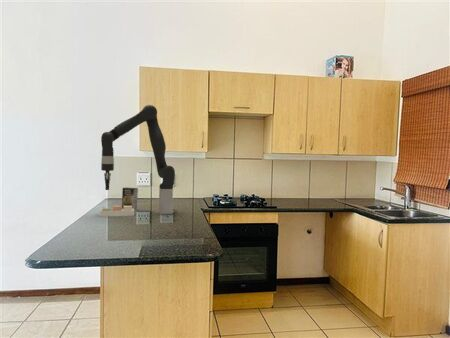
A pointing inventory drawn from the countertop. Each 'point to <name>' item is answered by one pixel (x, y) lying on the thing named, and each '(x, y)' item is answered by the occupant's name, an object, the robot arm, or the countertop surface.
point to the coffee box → (130, 197)
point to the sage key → (106, 209)
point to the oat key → (127, 207)
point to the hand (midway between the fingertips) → (107, 189)
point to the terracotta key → (117, 208)
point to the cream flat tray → (116, 213)
